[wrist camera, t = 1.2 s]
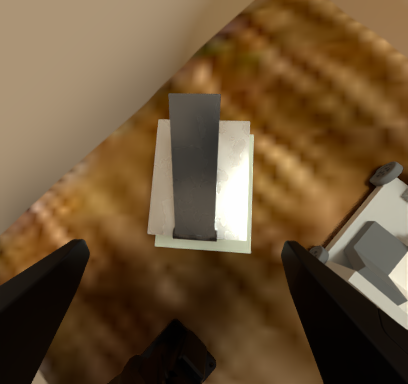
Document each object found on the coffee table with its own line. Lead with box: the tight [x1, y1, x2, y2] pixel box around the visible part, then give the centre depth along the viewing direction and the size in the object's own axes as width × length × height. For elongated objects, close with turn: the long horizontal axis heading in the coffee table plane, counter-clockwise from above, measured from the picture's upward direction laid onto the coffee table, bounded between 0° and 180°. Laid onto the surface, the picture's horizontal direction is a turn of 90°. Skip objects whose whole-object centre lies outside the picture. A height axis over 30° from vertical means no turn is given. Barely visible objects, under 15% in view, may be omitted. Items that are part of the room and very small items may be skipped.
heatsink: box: [147, 120, 250, 241], centre depth 20 cm, size 11×8×7 cm
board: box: [155, 135, 254, 253], centre depth 24 cm, size 14×11×1 cm
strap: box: [169, 94, 221, 242], centre depth 13 cm, size 10×3×1 cm, turn 177°
